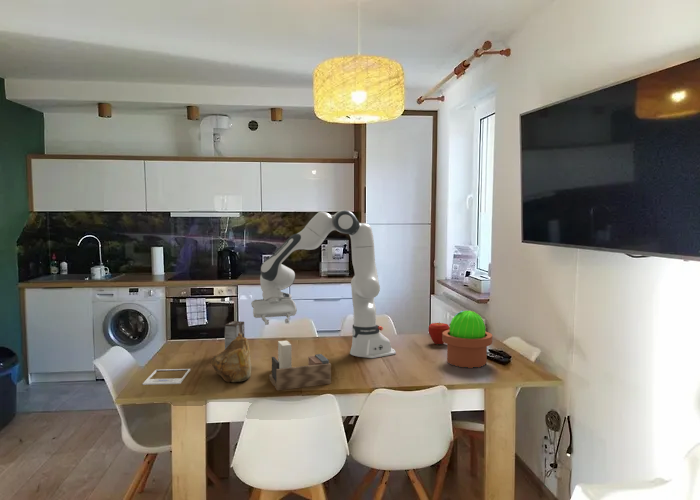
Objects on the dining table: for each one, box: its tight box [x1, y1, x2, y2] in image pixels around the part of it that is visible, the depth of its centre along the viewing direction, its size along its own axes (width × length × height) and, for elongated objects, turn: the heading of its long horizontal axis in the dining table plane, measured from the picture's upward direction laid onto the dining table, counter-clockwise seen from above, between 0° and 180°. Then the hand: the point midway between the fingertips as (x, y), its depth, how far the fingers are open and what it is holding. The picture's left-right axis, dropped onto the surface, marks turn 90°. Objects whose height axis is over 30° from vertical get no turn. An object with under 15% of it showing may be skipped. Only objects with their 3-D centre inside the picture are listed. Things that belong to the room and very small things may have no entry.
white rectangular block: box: [277, 340, 293, 369], centre depth 218 cm, size 4×8×12 cm, turn 21°
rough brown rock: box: [210, 336, 252, 383], centre depth 209 cm, size 23×17×15 cm
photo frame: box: [142, 368, 191, 386], centre depth 208 cm, size 15×1×18 cm
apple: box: [427, 321, 450, 345], centre depth 264 cm, size 11×11×12 cm
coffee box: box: [224, 320, 245, 350], centre depth 239 cm, size 9×6×16 cm
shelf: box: [268, 353, 332, 391], centre depth 203 cm, size 22×14×10 cm, turn 111°
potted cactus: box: [442, 310, 493, 369], centre depth 229 cm, size 22×22×25 cm
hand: (277, 323), depth 229 cm, fingers open, 8 cm apart
